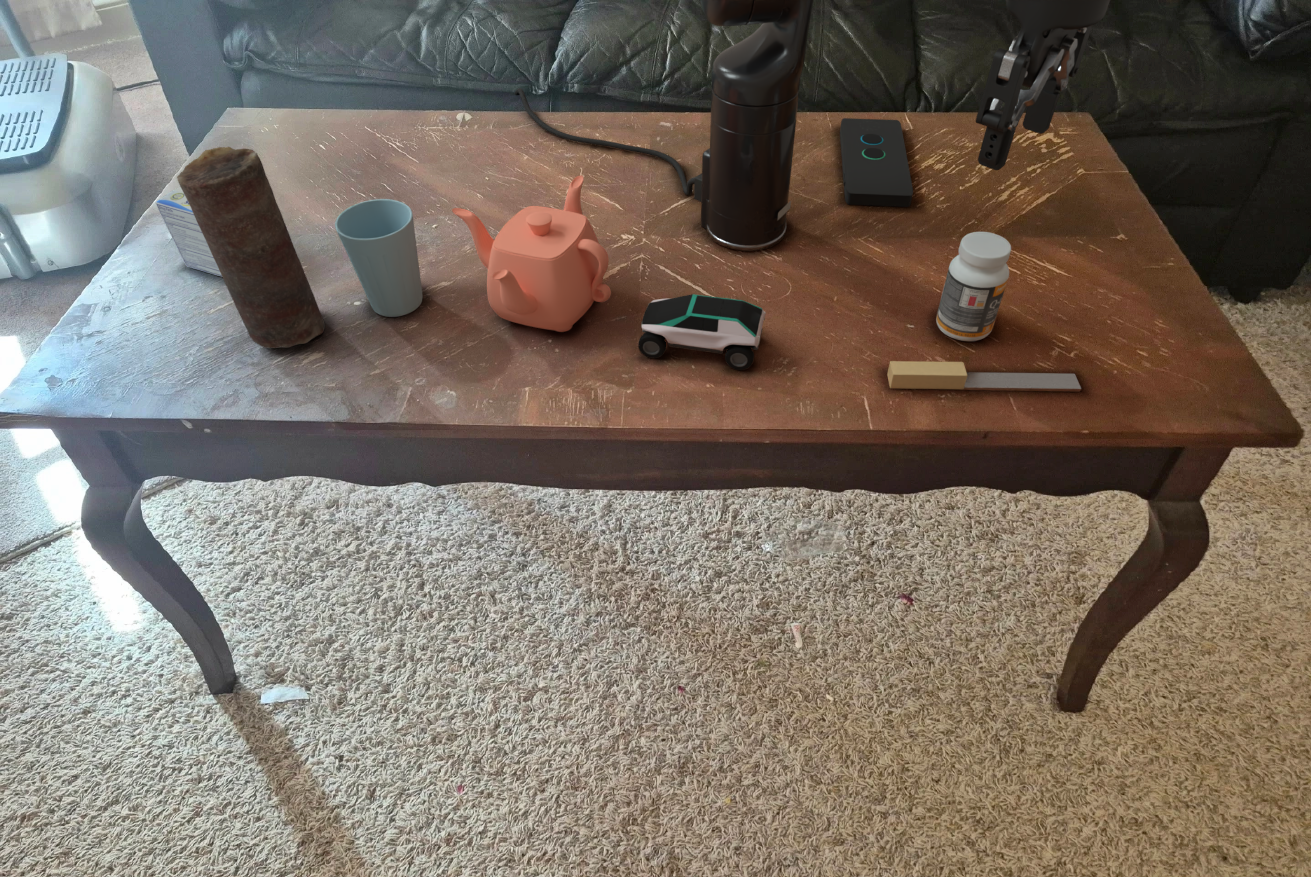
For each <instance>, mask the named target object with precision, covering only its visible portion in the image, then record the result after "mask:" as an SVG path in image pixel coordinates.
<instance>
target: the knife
mask: <svg viewBox="0 0 1311 877" xmlns="http://www.w3.org/2000/svg"><path fill="white" fill-rule="evenodd" d="M886 375H887V379H888V385H889V388H890V389H909V390H910V389H912V390H963V391H999V392H1000V391H1001V392H1002V391H1004V392H1005V391H1006V392H1009V391H1010V392H1016V391H1017V392H1072V393H1073V392H1076V393H1077V392H1078V393H1080V392H1081V391H1082V386H1081V385H1080V383H1079V382H1080V381H1079V380H1078V378H1077V376H1076V374H1075V373H1060V372H1059V373H1055V372H1054V373H1053V372H1052V373H1051V372H1050V373H1049V372H1048V373H1047V372H982V371H981V372H979V371H978V372H977V371H976V372H975V371H974V372H973V371H967V369H966V366H965V363H964V362H963V361H922V360H921V361H918V360H917V361H916V360H915V361H913V360H912V361H907V360H906V361H905V360H890V361H889V365H888V370H887V374H886Z"/></svg>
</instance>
